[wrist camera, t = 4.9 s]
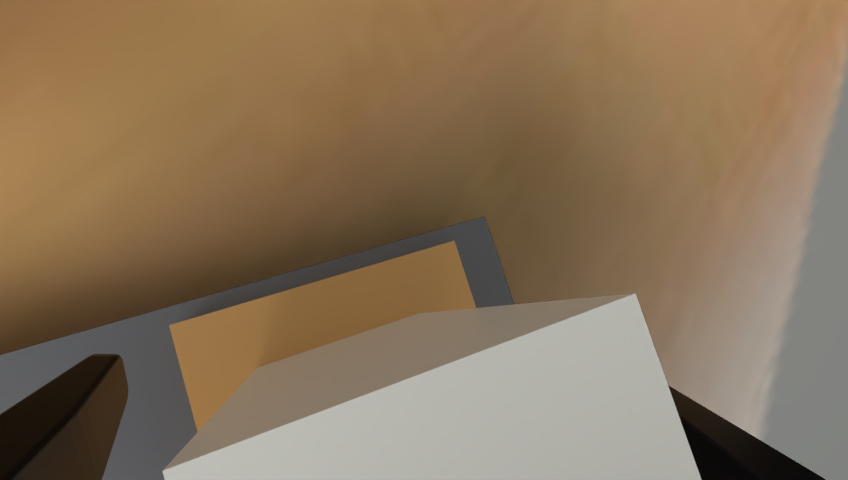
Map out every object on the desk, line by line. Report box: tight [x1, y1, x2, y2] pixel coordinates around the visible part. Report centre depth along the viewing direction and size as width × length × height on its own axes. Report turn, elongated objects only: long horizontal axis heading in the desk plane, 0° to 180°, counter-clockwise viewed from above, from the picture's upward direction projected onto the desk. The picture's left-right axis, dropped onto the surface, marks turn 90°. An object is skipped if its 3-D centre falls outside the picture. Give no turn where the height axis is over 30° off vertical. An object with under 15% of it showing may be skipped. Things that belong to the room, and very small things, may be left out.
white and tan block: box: [162, 241, 701, 480], centre depth 9 cm, size 7×7×12 cm
